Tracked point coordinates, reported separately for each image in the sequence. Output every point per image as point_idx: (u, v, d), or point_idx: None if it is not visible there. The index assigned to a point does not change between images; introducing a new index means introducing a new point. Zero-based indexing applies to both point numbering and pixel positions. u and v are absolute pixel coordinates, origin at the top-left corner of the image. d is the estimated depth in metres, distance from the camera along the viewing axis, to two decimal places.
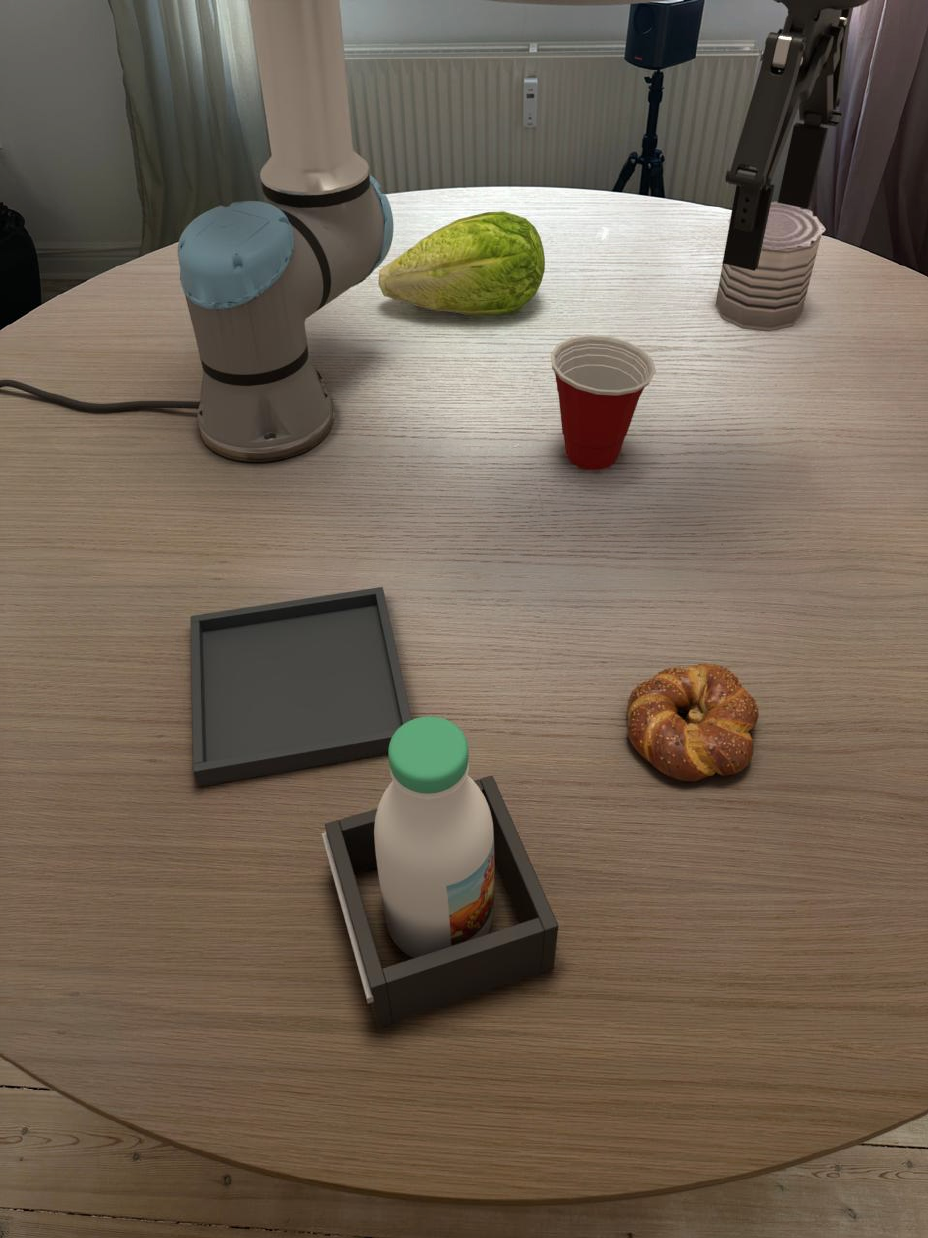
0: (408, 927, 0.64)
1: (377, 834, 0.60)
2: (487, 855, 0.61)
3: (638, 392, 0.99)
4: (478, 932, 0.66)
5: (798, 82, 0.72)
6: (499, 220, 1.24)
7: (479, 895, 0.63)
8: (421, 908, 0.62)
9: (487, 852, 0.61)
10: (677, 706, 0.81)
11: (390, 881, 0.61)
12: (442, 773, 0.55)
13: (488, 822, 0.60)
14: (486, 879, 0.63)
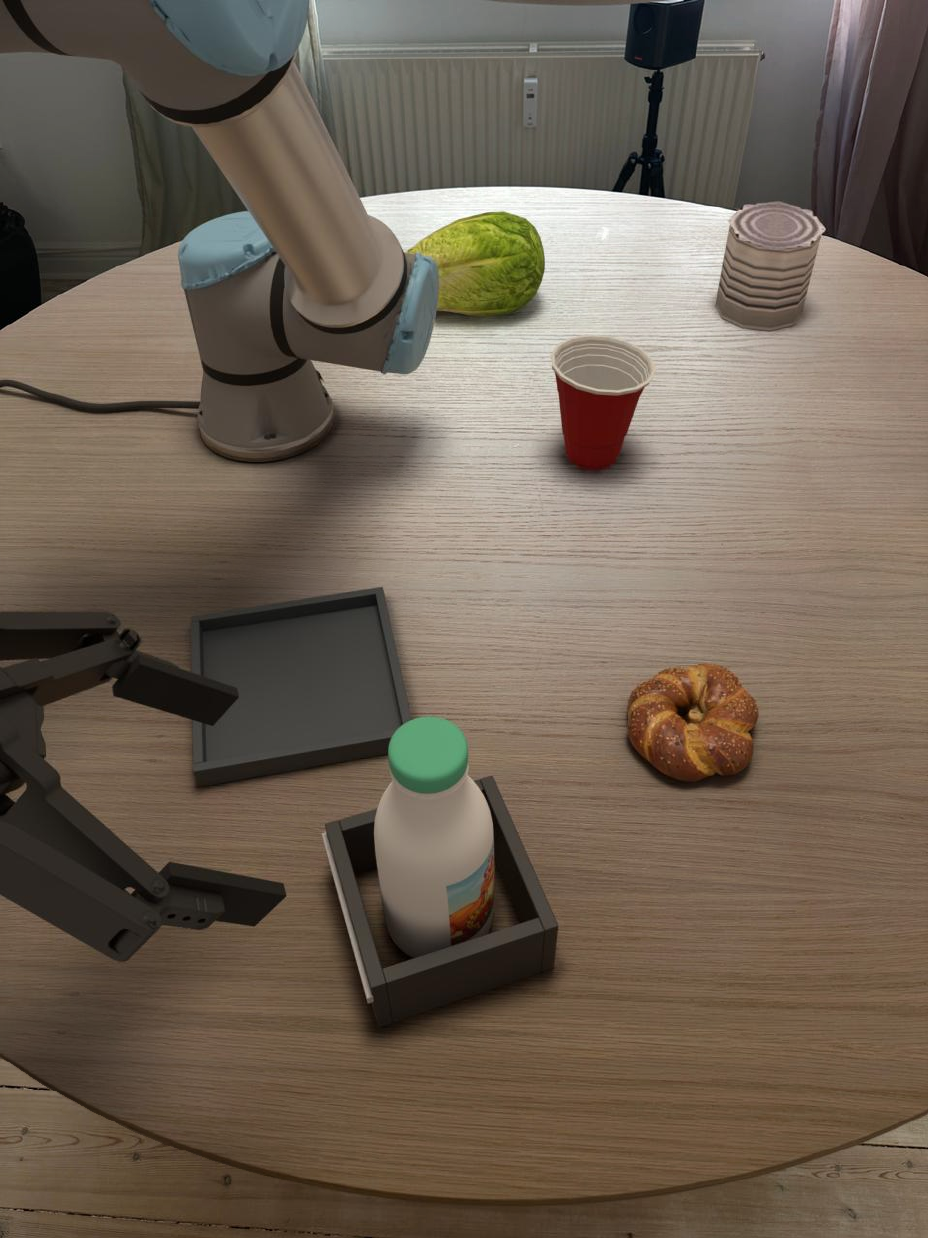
0: (408, 927, 0.64)
1: (377, 834, 0.60)
2: (487, 855, 0.61)
3: (638, 392, 0.99)
4: (478, 932, 0.66)
5: (27, 791, 0.42)
6: (499, 220, 1.23)
7: (479, 895, 0.63)
8: (421, 908, 0.62)
9: (487, 852, 0.61)
10: (677, 706, 0.81)
11: (390, 881, 0.61)
12: (442, 773, 0.55)
13: (488, 822, 0.60)
14: (486, 879, 0.63)
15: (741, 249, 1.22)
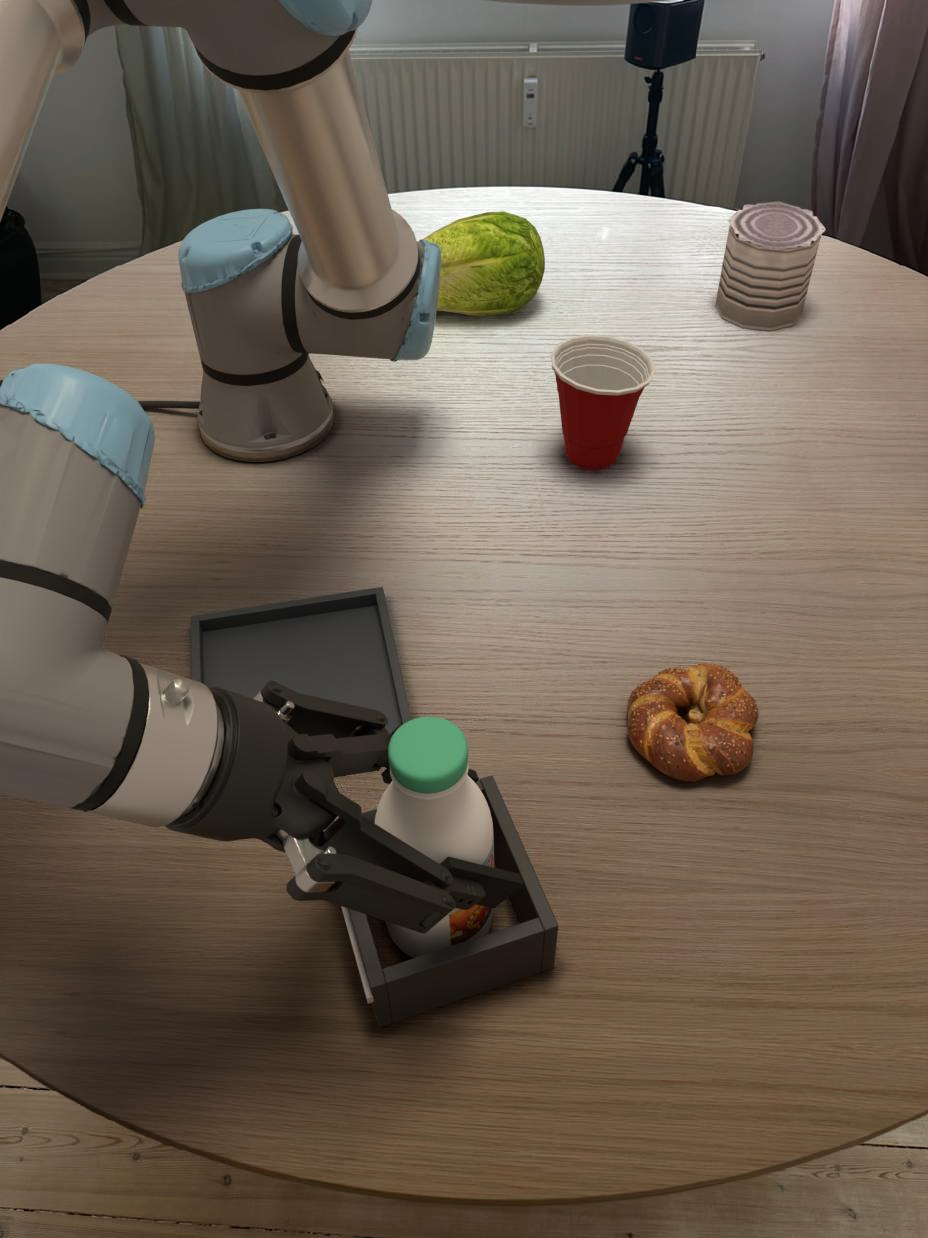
0: None
1: None
2: (487, 855, 0.61)
3: (638, 392, 0.99)
4: (478, 932, 0.66)
5: (345, 827, 0.53)
6: (499, 220, 1.24)
7: None
8: None
9: (487, 852, 0.61)
10: (677, 706, 0.81)
11: None
12: (442, 773, 0.55)
13: (488, 822, 0.60)
14: None
15: (741, 249, 1.22)
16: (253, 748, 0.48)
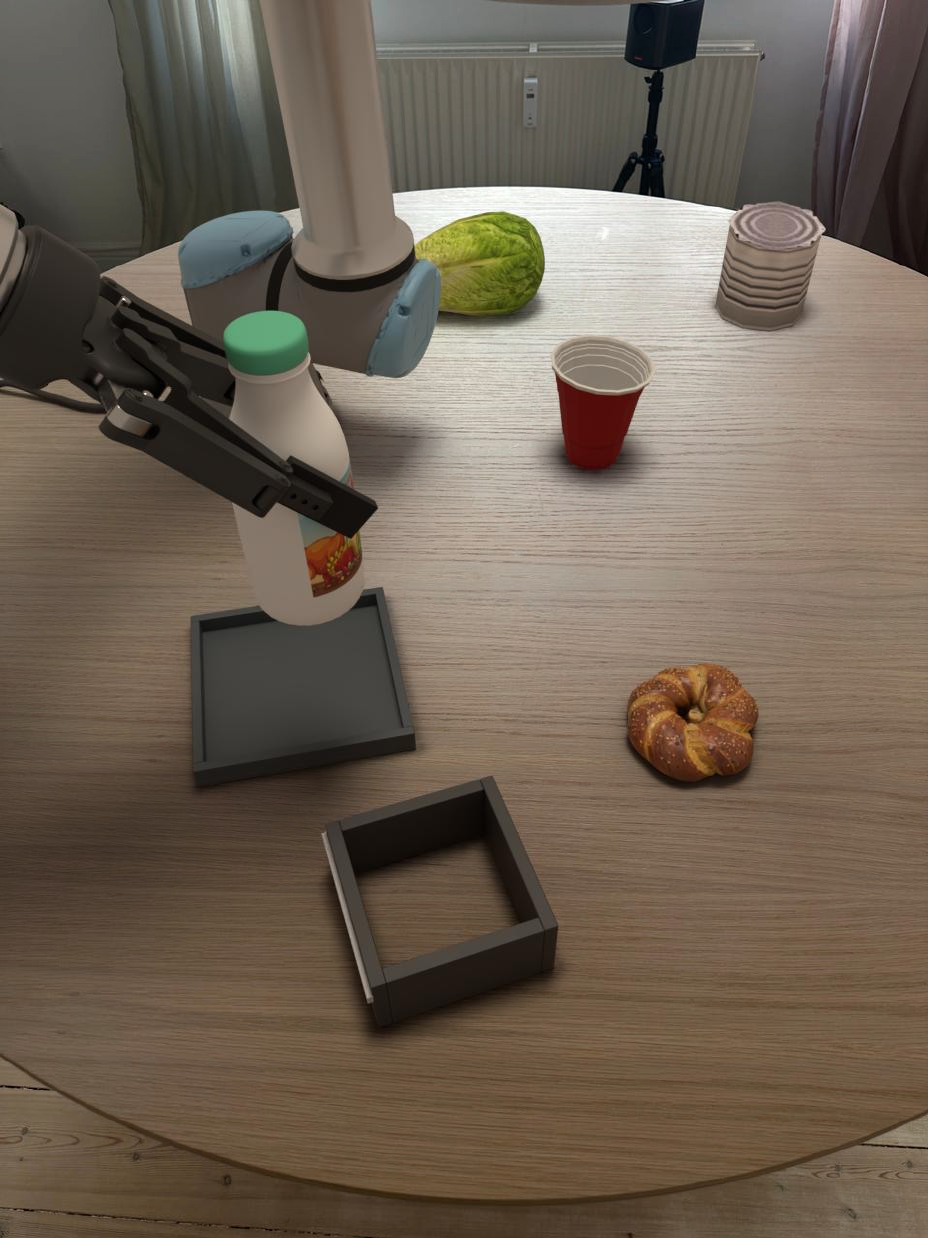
0: (266, 571, 0.62)
1: None
2: (340, 477, 0.59)
3: (638, 392, 0.99)
4: (342, 586, 0.64)
5: (171, 393, 0.52)
6: (499, 220, 1.24)
7: None
8: (274, 536, 0.60)
9: (339, 474, 0.59)
10: (677, 706, 0.81)
11: None
12: (275, 347, 0.53)
13: (339, 440, 0.59)
14: None
15: (741, 249, 1.22)
16: (56, 266, 0.46)
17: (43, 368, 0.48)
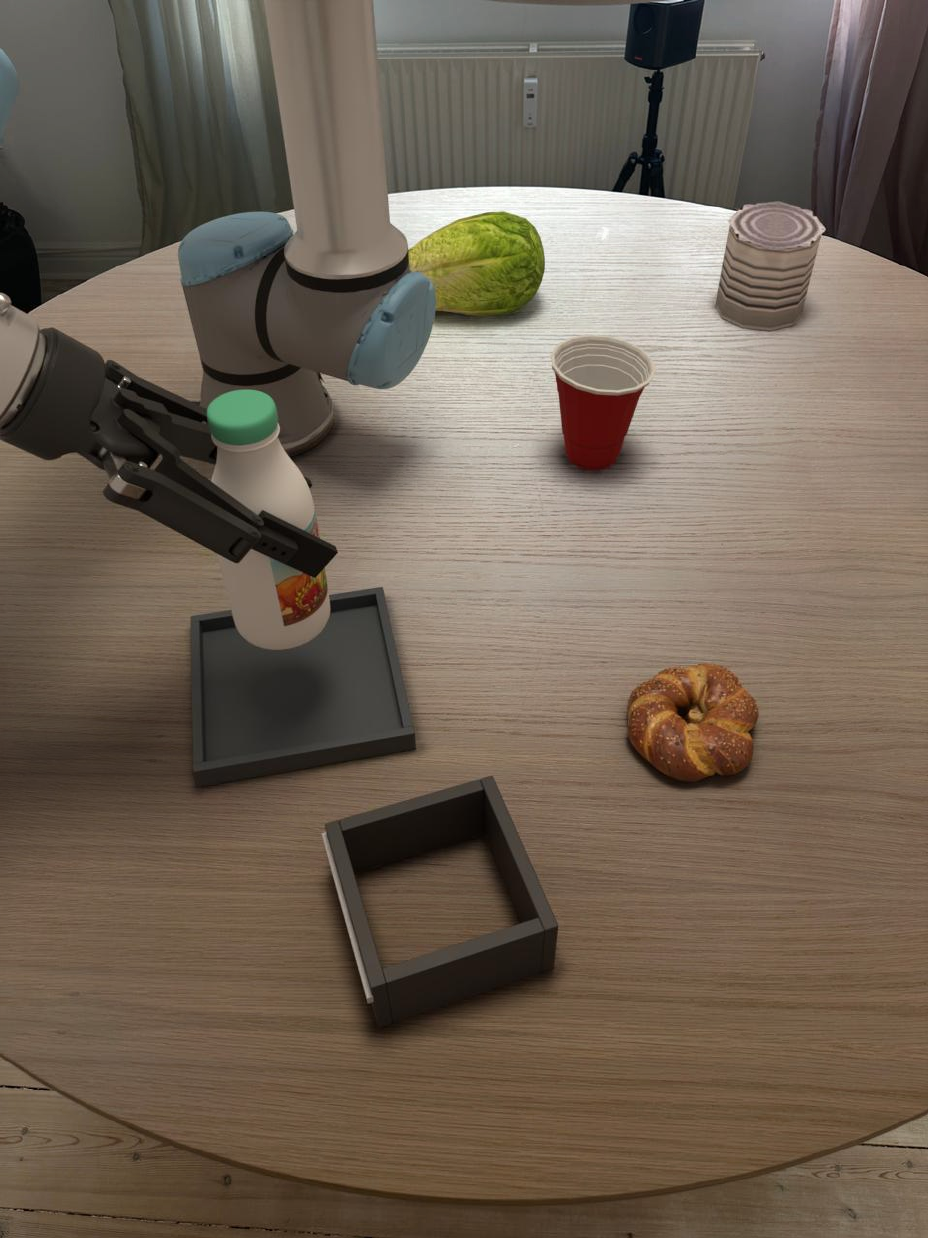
0: (244, 604, 0.73)
1: None
2: (305, 527, 0.70)
3: (638, 392, 0.99)
4: (309, 616, 0.75)
5: (162, 461, 0.63)
6: (499, 220, 1.23)
7: None
8: (249, 575, 0.71)
9: (305, 523, 0.70)
10: (677, 706, 0.81)
11: None
12: (248, 423, 0.64)
13: (305, 495, 0.70)
14: None
15: (741, 249, 1.22)
16: (70, 363, 0.58)
17: (58, 444, 0.59)
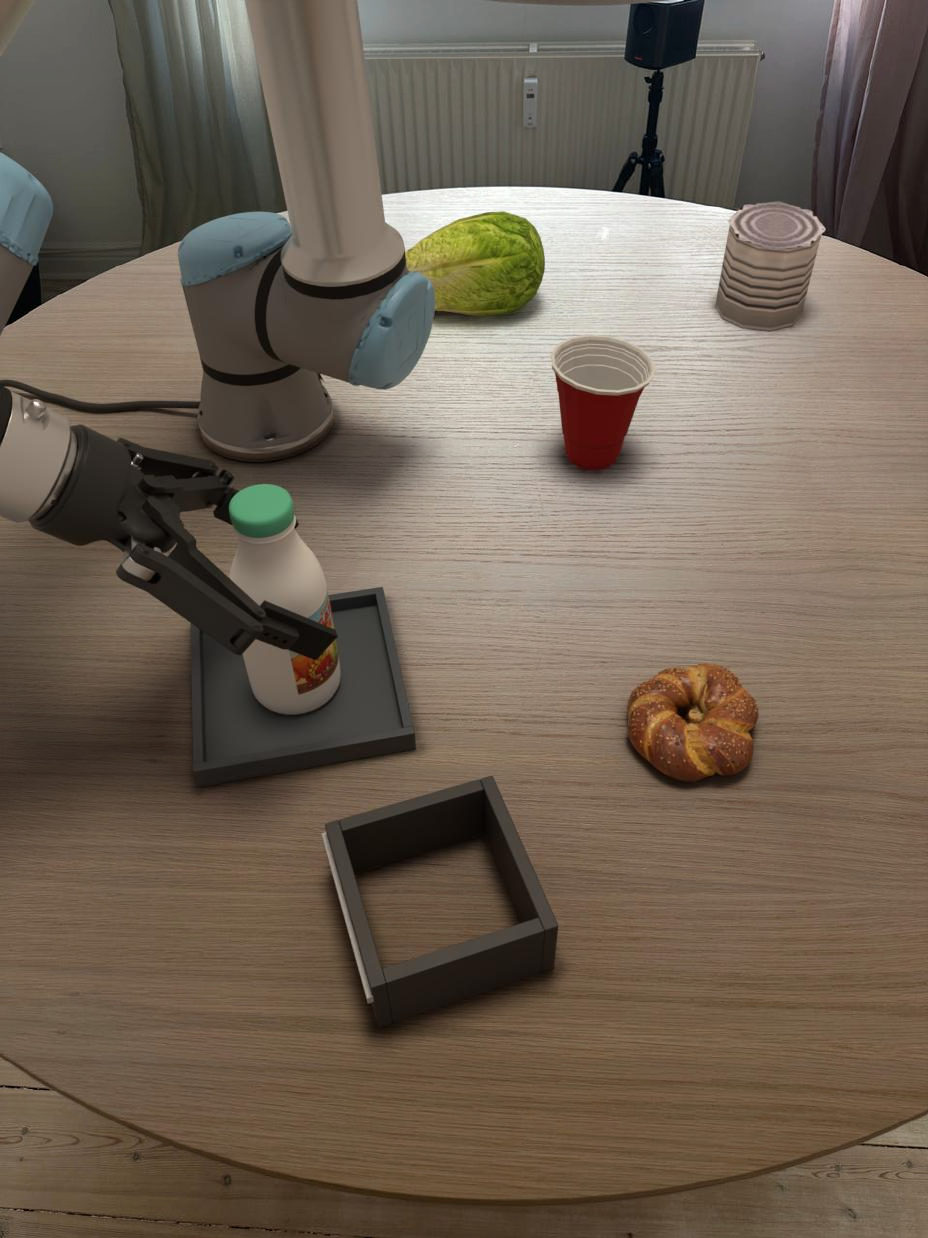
0: (261, 674, 0.79)
1: None
2: (319, 606, 0.76)
3: (638, 392, 0.99)
4: (322, 685, 0.81)
5: (176, 547, 0.67)
6: (499, 220, 1.23)
7: None
8: (267, 651, 0.77)
9: (318, 603, 0.76)
10: (677, 706, 0.81)
11: None
12: (268, 518, 0.69)
13: (318, 578, 0.75)
14: None
15: (741, 249, 1.22)
16: (99, 461, 0.62)
17: (88, 533, 0.64)
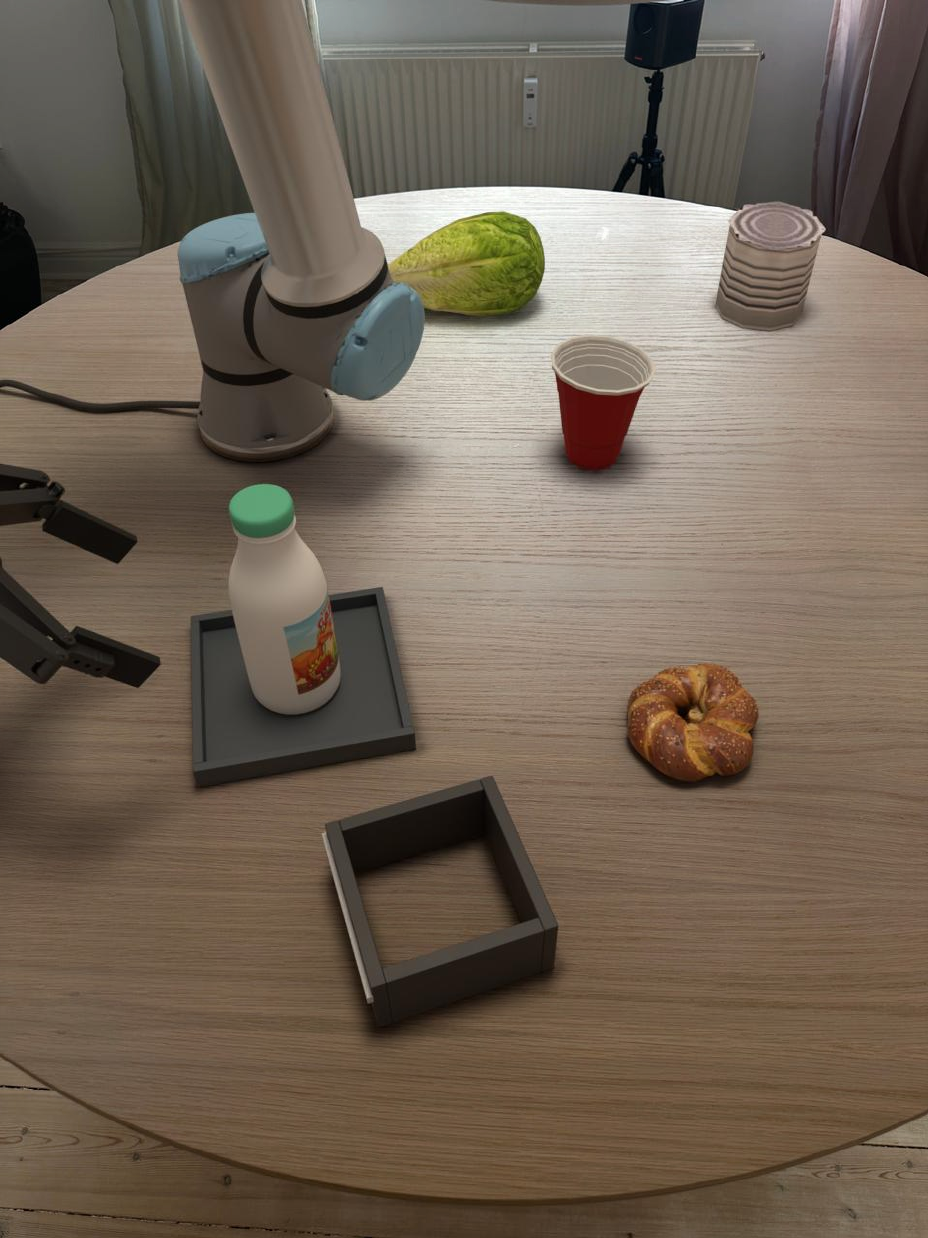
0: (261, 675, 0.79)
1: (229, 587, 0.75)
2: (319, 606, 0.76)
3: (638, 392, 0.99)
4: (322, 685, 0.81)
5: None
6: (499, 220, 1.23)
7: (316, 644, 0.78)
8: (267, 651, 0.77)
9: (318, 603, 0.76)
10: (677, 706, 0.81)
11: (241, 627, 0.76)
12: (268, 518, 0.69)
13: (318, 578, 0.75)
14: (321, 631, 0.78)
15: (741, 249, 1.22)
16: None
17: None
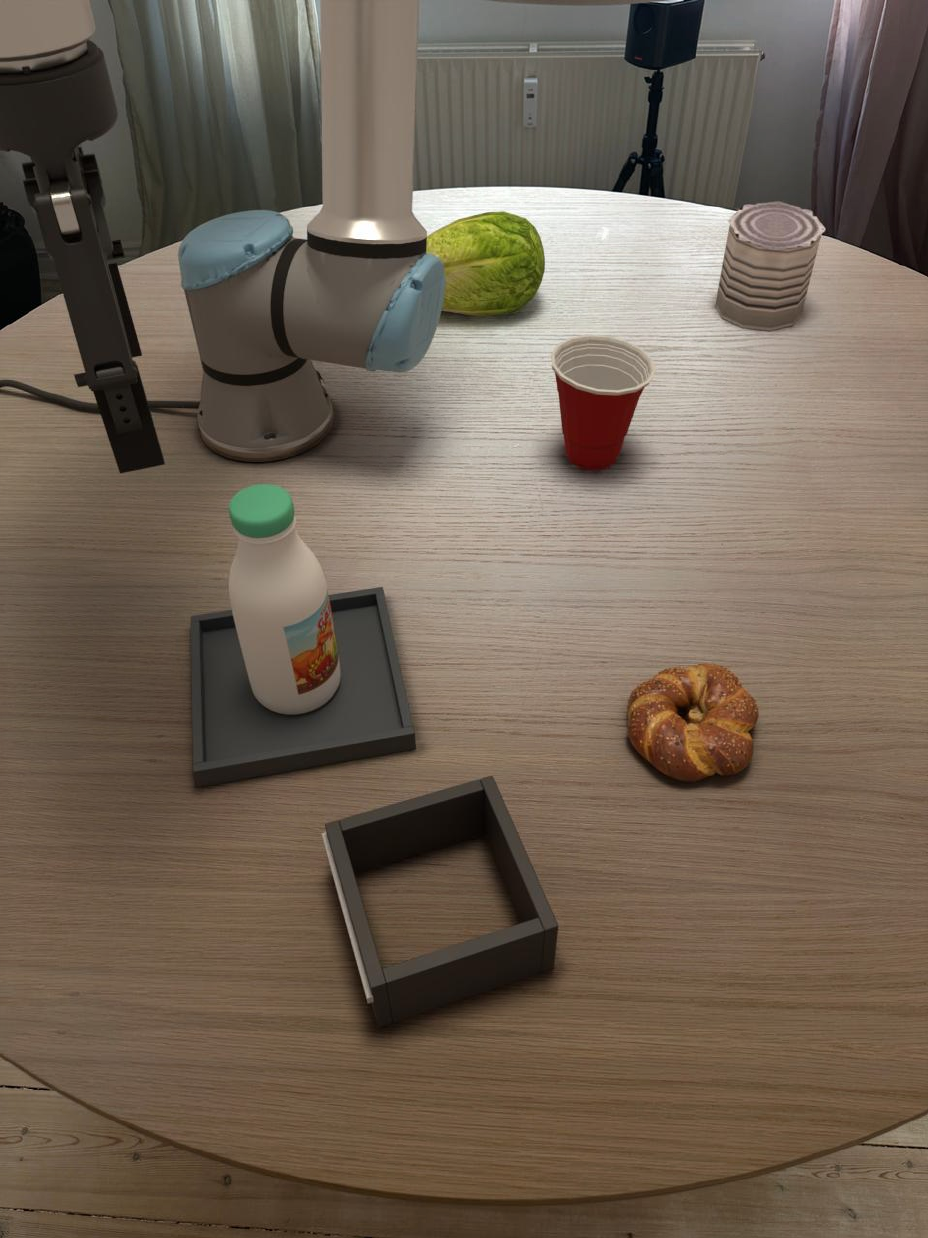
0: (261, 675, 0.79)
1: (229, 587, 0.75)
2: (319, 606, 0.76)
3: (638, 392, 0.99)
4: (322, 685, 0.81)
5: None
6: (499, 220, 1.24)
7: (316, 644, 0.78)
8: (267, 651, 0.77)
9: (318, 603, 0.76)
10: (677, 706, 0.81)
11: (241, 628, 0.76)
12: (268, 518, 0.69)
13: (318, 578, 0.75)
14: (321, 631, 0.78)
15: (741, 249, 1.22)
16: (101, 83, 0.50)
17: (26, 136, 0.49)
